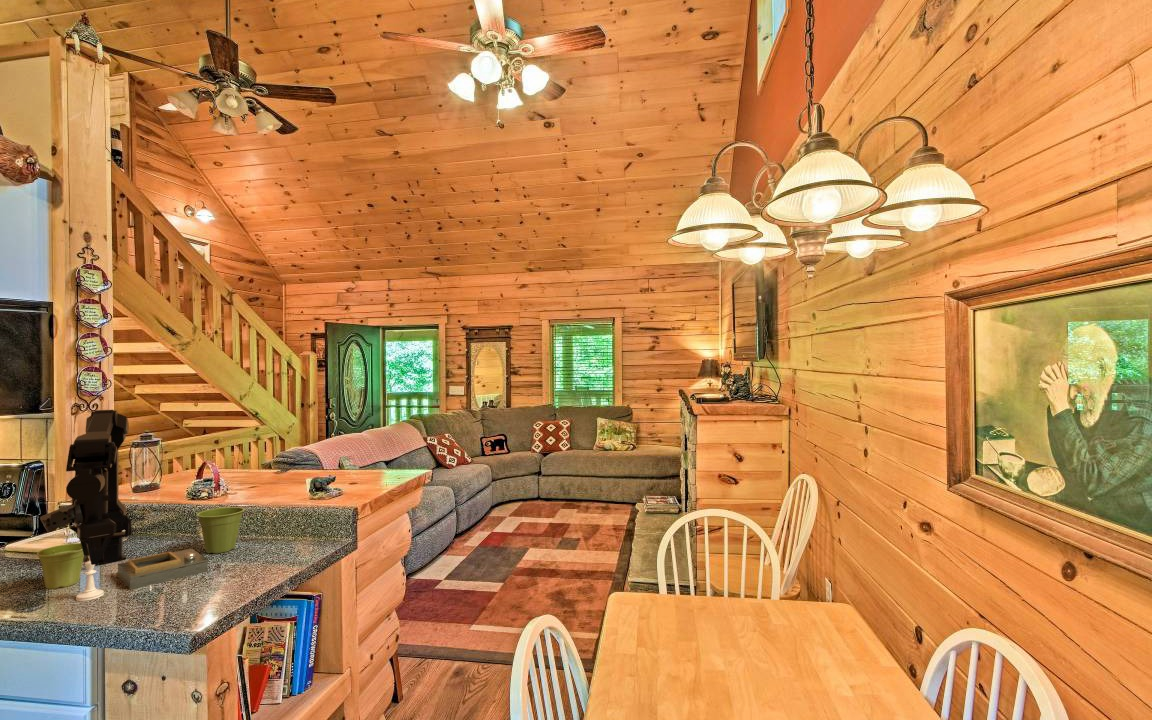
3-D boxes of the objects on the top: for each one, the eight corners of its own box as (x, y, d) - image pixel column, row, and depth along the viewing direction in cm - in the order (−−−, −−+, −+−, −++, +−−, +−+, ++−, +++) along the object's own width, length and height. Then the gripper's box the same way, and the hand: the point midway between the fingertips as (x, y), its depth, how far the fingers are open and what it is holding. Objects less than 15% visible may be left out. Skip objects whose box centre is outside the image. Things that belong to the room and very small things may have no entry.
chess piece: (80, 602, 124) (80, 558, 124) (72, 598, 127) (73, 554, 127) (107, 595, 128) (108, 552, 129) (99, 590, 131) (99, 548, 131)
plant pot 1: (98, 577, 139) (99, 543, 140) (60, 592, 130) (60, 555, 130) (65, 576, 140) (65, 542, 140) (24, 591, 131) (25, 554, 131)
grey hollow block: (117, 575, 141) (117, 557, 141) (191, 559, 153) (191, 542, 153) (130, 589, 132) (130, 570, 132) (207, 571, 144) (207, 553, 144)
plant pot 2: (253, 547, 163) (253, 509, 164) (211, 559, 153) (211, 518, 153) (229, 541, 169) (229, 504, 169) (187, 553, 158) (187, 513, 159)
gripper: (38, 492, 128) (37, 559, 128) (49, 505, 116) (48, 579, 116) (101, 484, 137) (100, 548, 136) (117, 495, 124) (116, 565, 124)
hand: (90, 559), depth 128 cm, fingers open, 9 cm apart
